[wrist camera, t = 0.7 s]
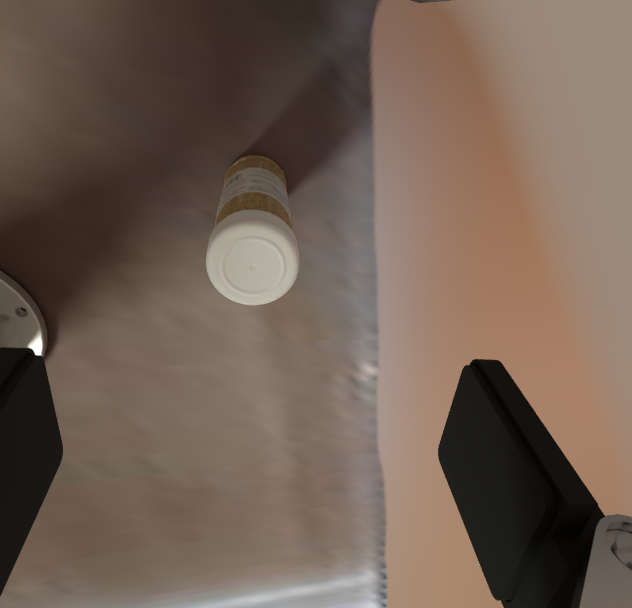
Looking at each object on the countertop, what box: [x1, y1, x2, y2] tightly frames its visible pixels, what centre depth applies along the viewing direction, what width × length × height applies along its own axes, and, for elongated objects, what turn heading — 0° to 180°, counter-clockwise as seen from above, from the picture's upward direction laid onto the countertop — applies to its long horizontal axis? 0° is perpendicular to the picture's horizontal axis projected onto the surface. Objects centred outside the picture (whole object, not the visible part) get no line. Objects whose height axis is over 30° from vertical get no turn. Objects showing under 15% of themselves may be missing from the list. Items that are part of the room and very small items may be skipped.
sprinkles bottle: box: [206, 155, 299, 305], centre depth 29 cm, size 5×5×14 cm
